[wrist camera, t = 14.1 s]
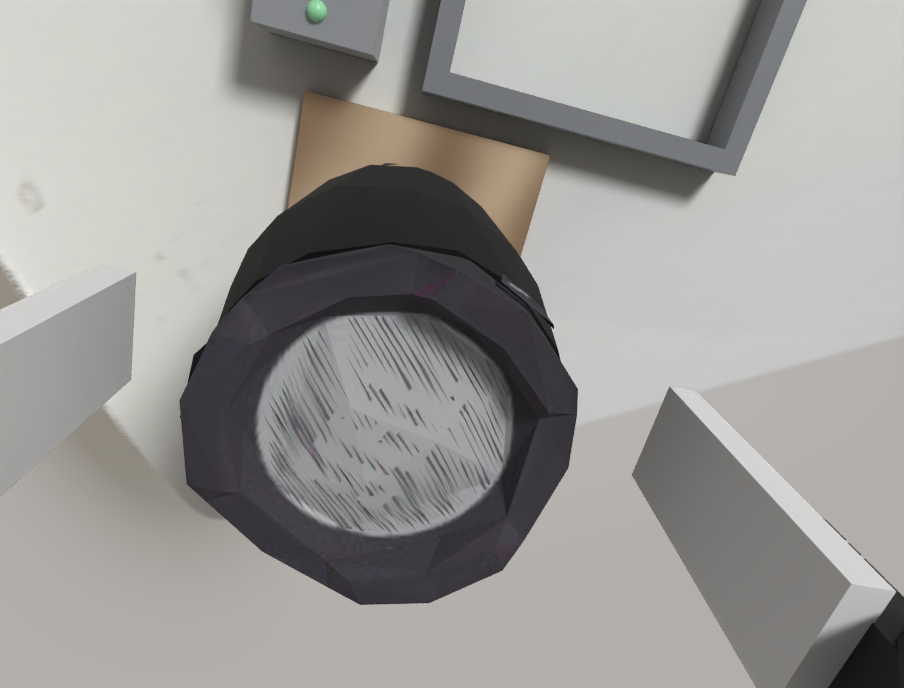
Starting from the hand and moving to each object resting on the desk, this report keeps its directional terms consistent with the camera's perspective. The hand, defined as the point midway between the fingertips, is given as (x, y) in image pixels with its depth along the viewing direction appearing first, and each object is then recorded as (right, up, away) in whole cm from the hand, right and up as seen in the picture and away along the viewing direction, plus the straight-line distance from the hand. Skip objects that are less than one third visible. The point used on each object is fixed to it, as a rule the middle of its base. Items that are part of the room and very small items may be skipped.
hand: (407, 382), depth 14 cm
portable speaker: (-1, +6, +15) cm, 17 cm away
